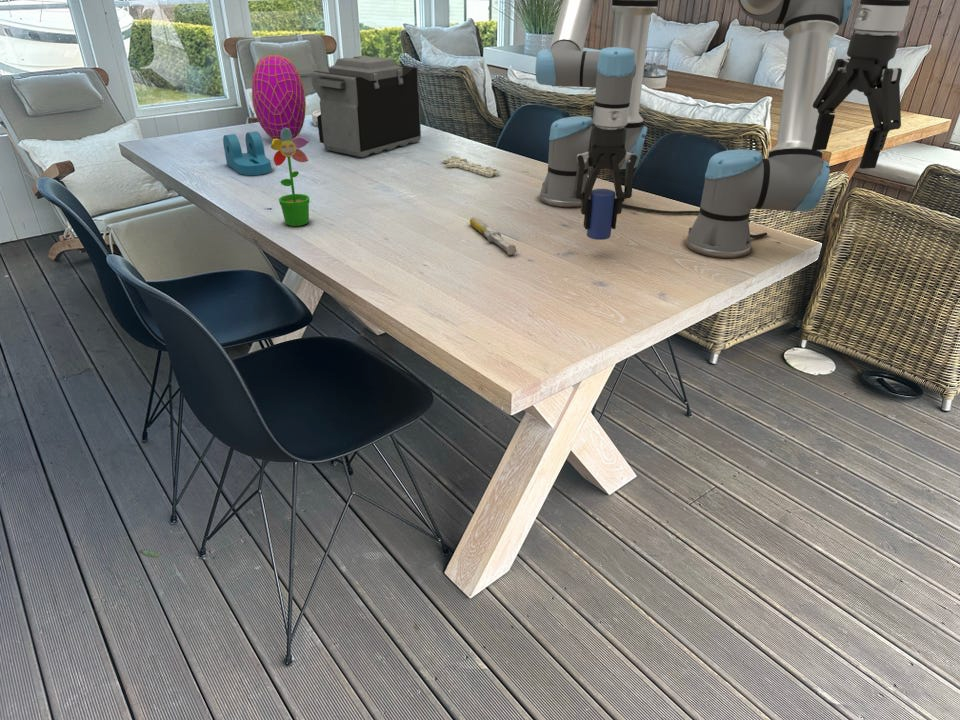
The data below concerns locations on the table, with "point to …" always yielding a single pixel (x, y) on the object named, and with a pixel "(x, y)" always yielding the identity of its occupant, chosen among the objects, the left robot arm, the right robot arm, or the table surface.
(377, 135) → the cooler box
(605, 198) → the can
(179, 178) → the table surface
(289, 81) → the decorative egg
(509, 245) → the syringe
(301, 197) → the potted flower
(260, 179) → the table surface
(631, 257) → the table surface
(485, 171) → the decorative sign
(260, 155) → the camera mount
